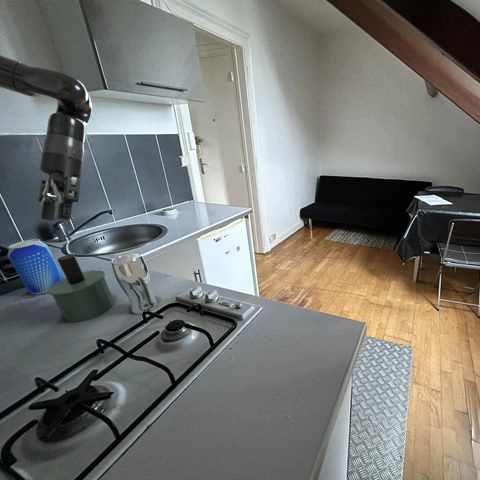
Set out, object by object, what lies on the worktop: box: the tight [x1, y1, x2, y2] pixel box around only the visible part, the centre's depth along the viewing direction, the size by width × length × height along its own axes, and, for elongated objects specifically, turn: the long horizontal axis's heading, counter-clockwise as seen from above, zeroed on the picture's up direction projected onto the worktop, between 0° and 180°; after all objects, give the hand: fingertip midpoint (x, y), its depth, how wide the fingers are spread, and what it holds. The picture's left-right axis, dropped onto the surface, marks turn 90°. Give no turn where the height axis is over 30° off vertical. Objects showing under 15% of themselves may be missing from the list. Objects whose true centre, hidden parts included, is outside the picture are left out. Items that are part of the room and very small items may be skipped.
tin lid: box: [47, 254, 106, 296], centre depth 67 cm, size 11×11×8 cm
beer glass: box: [110, 252, 159, 315], centre depth 68 cm, size 7×7×15 cm
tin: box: [52, 277, 115, 323], centre depth 70 cm, size 10×10×8 cm
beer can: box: [7, 238, 65, 297], centre depth 80 cm, size 8×8×16 cm
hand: (55, 219), depth 65 cm, fingers open, 8 cm apart
